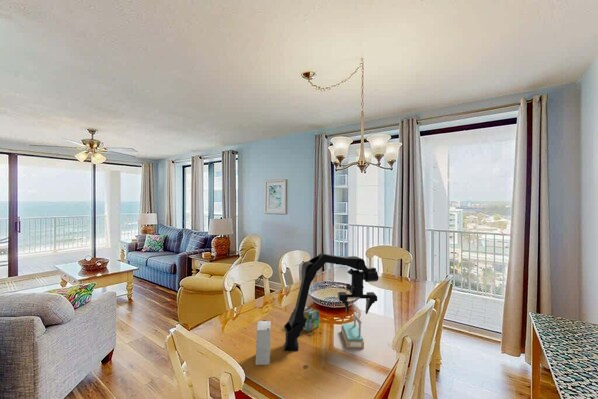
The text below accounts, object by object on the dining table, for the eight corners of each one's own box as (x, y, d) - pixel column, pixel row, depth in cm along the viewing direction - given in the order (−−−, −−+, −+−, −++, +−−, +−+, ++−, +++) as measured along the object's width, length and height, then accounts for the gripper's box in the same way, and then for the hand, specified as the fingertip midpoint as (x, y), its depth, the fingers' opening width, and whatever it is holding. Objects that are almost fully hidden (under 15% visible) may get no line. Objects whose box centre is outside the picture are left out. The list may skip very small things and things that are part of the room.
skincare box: (256, 354, 117) (257, 320, 117) (270, 353, 118) (270, 320, 118) (255, 365, 109) (255, 329, 109) (270, 365, 110) (270, 329, 110)
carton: (364, 348, 124) (364, 341, 124) (347, 347, 124) (347, 341, 124) (356, 331, 140) (356, 325, 140) (341, 331, 140) (341, 325, 140)
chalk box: (292, 325, 146) (313, 335, 135) (293, 308, 146) (313, 317, 136) (303, 320, 152) (324, 329, 142) (304, 304, 152) (324, 312, 142)
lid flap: (363, 340, 124) (363, 323, 124) (348, 340, 124) (348, 323, 124) (356, 325, 139) (356, 310, 140) (342, 325, 139) (342, 310, 139)
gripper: (371, 278, 140) (371, 307, 140) (336, 277, 140) (335, 307, 140) (377, 284, 129) (377, 316, 129) (339, 284, 129) (339, 316, 129)
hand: (357, 313), depth 132 cm, fingers open, 9 cm apart
